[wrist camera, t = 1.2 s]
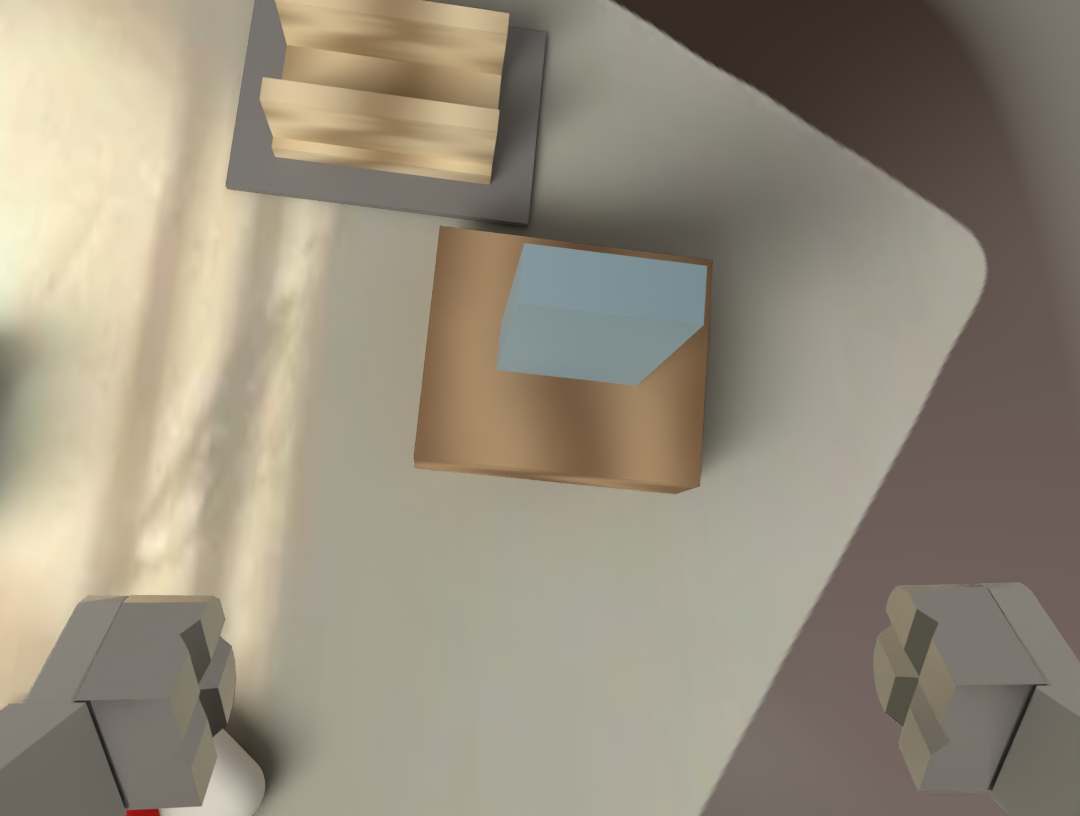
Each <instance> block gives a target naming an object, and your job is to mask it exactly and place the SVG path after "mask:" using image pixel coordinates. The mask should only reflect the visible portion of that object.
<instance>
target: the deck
mask: <svg viewBox="0 0 1080 816" xmlns="http://www.w3.org/2000/svg"><path fill="white" fill-rule="evenodd" d="M524 243H528V244H536V245H544V246H552V247H560V248H568V249H576V250H584V251H592V252H600V253H608V254H616V255H624V256H632V257H640V258H648V259H656V260H664V261H672V262H680V263H688V264H696V265H704V266H707V277H706V294H705V311H704V325H703V326H702V327H701V328H700V329H699V330H698V331H697V332H696V333H694V334H693V335H692V336H691V337H690V338H689V339H688V340H687V341H686V342H684V343H683V344H682V345H681V346H680V347H679V348H678V349H677V350H676V351H674V352H673V353H672V354H671V355H670V356H669V357H668V358H667V359H666V360H664V361H663V362H662V363H661V364H660V365H659V366H658V367H657V368H656V369H655V370H653V371H652V372H651V373H650V374H649V375H648V376H647V377H646V378H645V379H643V380H642V381H641V382H640V383H639V384H638V385H637V386H635V385H626V384H617V383H608V382H599V381H590V380H581V379H572V378H563V377H554V376H545V375H536V374H527V373H518V372H509V371H500V370H496V367H497V357H498V347H499V337H500V327H501V322H502V318H503V315H504V311H505V308H506V304H507V301H508V297H509V294H510V290H511V287H512V283H513V280H514V276H515V273H516V270H517V266H518V263H519V259H520V256H521V252H522V249H523V245H524ZM712 264H713V260H708V259H700V258H692V257H684V256H676V255H668V254H660V253H652V252H644V251H636V250H628V249H620V248H613V247H605V246H597V245H589V244H581V243H573V242H565V241H557V240H549V239H541V238H533V237H525V236H517V235H509V234H501V233H493V232H485V231H477V230H469V229H461V228H453V227H445V226H440V230H439V238H438V247H437V256H436V265H435V274H434V283H433V291H432V300H431V309H430V318H429V327H428V336H427V344H426V353H425V362H424V371H423V380H422V389H421V397H420V406H419V415H418V424H417V433H416V442H415V450H414V463H415V468H421V469H431V470H441V471H451V472H461V473H471V474H481V475H491V476H501V477H511V478H521V479H531V480H541V481H551V482H561V483H571V484H581V485H591V486H601V487H611V488H621V489H631V490H641V491H651V492H661V493H671V494H677V493H680V492H683V491H686V490H690V489H693V488H696V487H699V486H700V474H701V457H702V439H703V422H704V404H705V387H706V369H707V352H708V334H709V317H710V299H711V282H712Z"/></svg>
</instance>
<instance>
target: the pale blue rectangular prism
mask: <svg viewBox="0 0 1080 816" xmlns="http://www.w3.org/2000/svg"><path fill="white" fill-rule="evenodd" d="M706 277H707V266H704V265H696V264H688V263H680V262H672V261H664V260H656V259H648V258H640V257H632V256H624V255H616V254H608V253H600V252H592V251H584V250H576V249H568V248H560V247H552V246H544V245H536V244H528V243H524V245H523V249H522V252H521V256H520V259H519V263H518V266H517V270H516V273H515V276H514V280H513V283H512V287H511V290H510V294H509V297H508V301H507V304H506V308H505V311H504V315H503V318H502V322H501V327H500V337H499V347H498V357H497V367H496V370H500V371H509V372H518V373H527V374H536V375H545V376H554V377H563V378H572V379H581V380H590V381H599V382H608V383H617V384H626V385H635V386H637V385H638V384H639V383H640V382H641V381H642V380H643V379H645V378H646V377H647V376H648V375H649V374H650V373H651V372H652V371H653V370H655V369H656V368H657V367H658V366H659V365H660V364H661V363H662V362H663V361H664V360H666V359H667V358H668V357H669V356H670V355H671V354H672V353H673V352H674V351H676V350H677V349H678V348H679V347H680V346H681V345H682V344H683V343H684V342H686V341H687V340H688V339H689V338H690V337H691V336H692V335H693V334H694V333H696V332H697V331H698V330H699V329H700V328H701V327H702V326H703V325H704V311H705V294H706Z"/></svg>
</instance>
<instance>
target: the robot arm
mask: <svg viewBox="0 0 1080 816" xmlns="http://www.w3.org/2000/svg"><path fill="white" fill-rule="evenodd" d="M885 610H886V612H887V614H888V616H889V618H890V621H891V623H892V625H891V626H889V627H888V628H887V629H886V630H885V631H883V632H882V633H881V634H880V635H879V636H878V638H877V642H876V646H875V651H874V655H873V663H874V664H873V665H874V681H875V685H876V689H877V694H878V697H879V699H880V702H881V704H882V707H883V709H884V712H885V713H886V714H887V715H888V716H889V717H891V718H892V719H893V720H894V721H896V722H897V723H898V724H900V725H901V726H902V727H903V729H902V732H901V735H900V739H899V742H898V746H899V748H900V750H901V753H902V755H903V757H904V760H905V762H906V764H907V767H908V769H909V771H910V773H911V776H912V778H913V781H914V783H915V785H916V788H917V790H918V792H989V793H990V792H991V794H990V797H991V798H993V799H994V800H995V801H996V802H997V803H998V804H999V805H1000V806H1001V807H1002V808H1003V809H1004V810H1005V811H1006V812H1007V813H1008V814H1010V815H1011V816H1080V662H1079V661H1078V659H1077V658H1076V656H1075V655H1074V653H1073V652H1072V650H1071V649H1070V648H1069V646H1068V644H1067V643H1066V641H1065V640H1064V638H1063V637H1062V636H1061V634H1060V633H1059V631H1058V630H1057V628H1056V627H1055V625H1054V624H1053V622H1052V621H1051V619H1050V618H1049V617H1048V615H1047V614H1046V612H1045V611H1044V609H1043V608H1042V606H1041V605H1040V603H1039V602H1038V600H1037V599H1036V598H1035V596H1034V595H1033V593H1032V592H1031V590H1030V589H1029V588H1028V587H1026V586H1025V585H1023V584H1022V583H987V584H986V583H985V584H978V585H974V584H959V585H957V584H956V585H915V586H914V585H913V586H896V587H895V589H894V590H893V591H892V592H891V594H890V596H889V600H888V602H887V606H886V609H885ZM224 622H225V616H224V613H223V609H222V606H221V602H220V599H218V598H216V597H214V596H180V595H130V596H95V595H88V596H87V597H86V598H84V599H83V600H82V601H81V602H79V603H78V604H77V606H76V607H75V609H74V611H73V613H72V615H71V617H70V618H69V620H68V622H67V624H66V626H65V627H64V629H63V631H62V633H61V635H60V637H59V638H58V640H57V642H56V644H55V646H54V647H53V649H52V651H51V653H50V655H49V657H48V658H47V660H46V662H45V664H44V666H43V668H42V669H41V671H40V673H39V675H38V677H37V678H36V680H35V682H34V684H33V686H32V688H31V689H30V691H29V693H28V695H27V697H26V698H25V700H24V702H23V703H21V704H9V705H7V706H6V707H5V708H3V709H2V710H0V816H126V815H127V813H126V810H139V809H160V808H181V807H202V804H203V801H204V798H205V795H206V791H207V788H208V785H209V782H210V779H211V776H212V772H213V769H214V766H215V763H216V760H217V753H216V749H215V745H214V742H213V737H214V736H215V735H216V734H217V733H218V732H220V731H221V730H222V729H223V728H224V727H225V726H226V725H227V724H228V720H229V717H230V713H231V710H232V706H233V701H234V693H235V684H236V671H235V659H234V655H233V650H232V646H231V645H230V644H229V643H227V642H226V641H225V640H224V639H222V638H221V637H220V633H221V630H222V627H223V625H224Z"/></svg>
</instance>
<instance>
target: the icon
mask: <svg viewBox="0 0 1080 816" xmlns="http://www.w3.org/2000/svg"><path fill="white" fill-rule="evenodd" d="M213 742H214V745H215V749H216V753H217V760H216V763H215V766H214V769H213V772H212V776H211V779H210V782H209V785H208V788H207V791H206V795H205V798H204V801H203V804H202V807H181V808H160V809H139V810H126V813H127V815H126V816H252V815H253V814H254V813H255V812H256V810H257V809H258V808H259V806H260V804H261V802H262V800H263V797H264V792H265V779H264V775H263V772H262V770H261V768H260V767H259V765H258V764H257V763H256V762H255V761H254V760H253V759H252V758H251V757H250V756H249V755H248V754H247V753H246V752H245V751H244V750H243V748H242V747H241V746H240V745H239V744H238V743H237V742H236V741H235V740H234V739H233V738H232V737H231V736H230V735H229V734H228V733H227V732H226V731H225V730H224V729H222V730H221V731H220V732H218V733H217V734H216V735H215V736H214V737H213Z"/></svg>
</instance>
